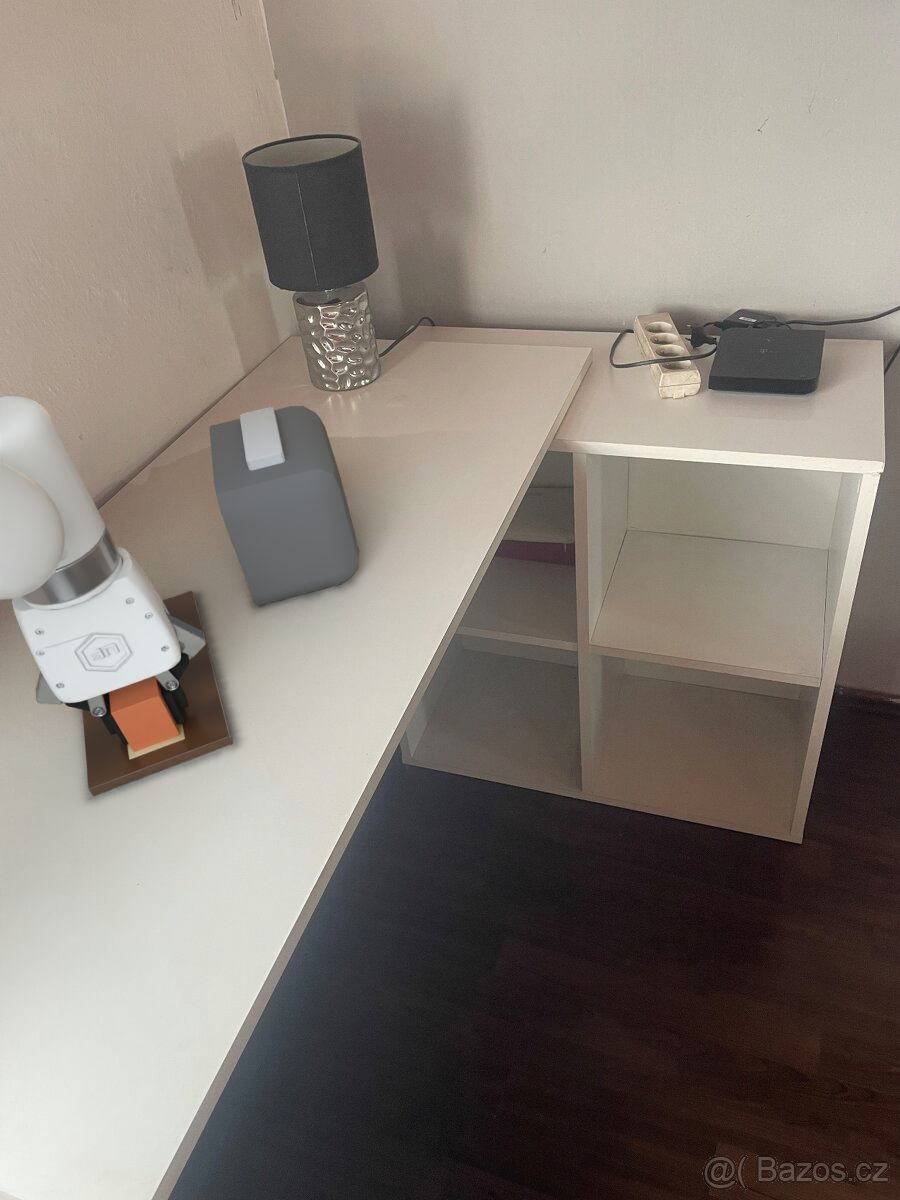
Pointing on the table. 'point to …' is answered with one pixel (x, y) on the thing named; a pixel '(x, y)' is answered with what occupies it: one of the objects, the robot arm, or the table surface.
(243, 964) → the table surface
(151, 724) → the terracotta orange cube
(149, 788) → the table surface
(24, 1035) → the table surface
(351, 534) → the alarm clock
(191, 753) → the word board
